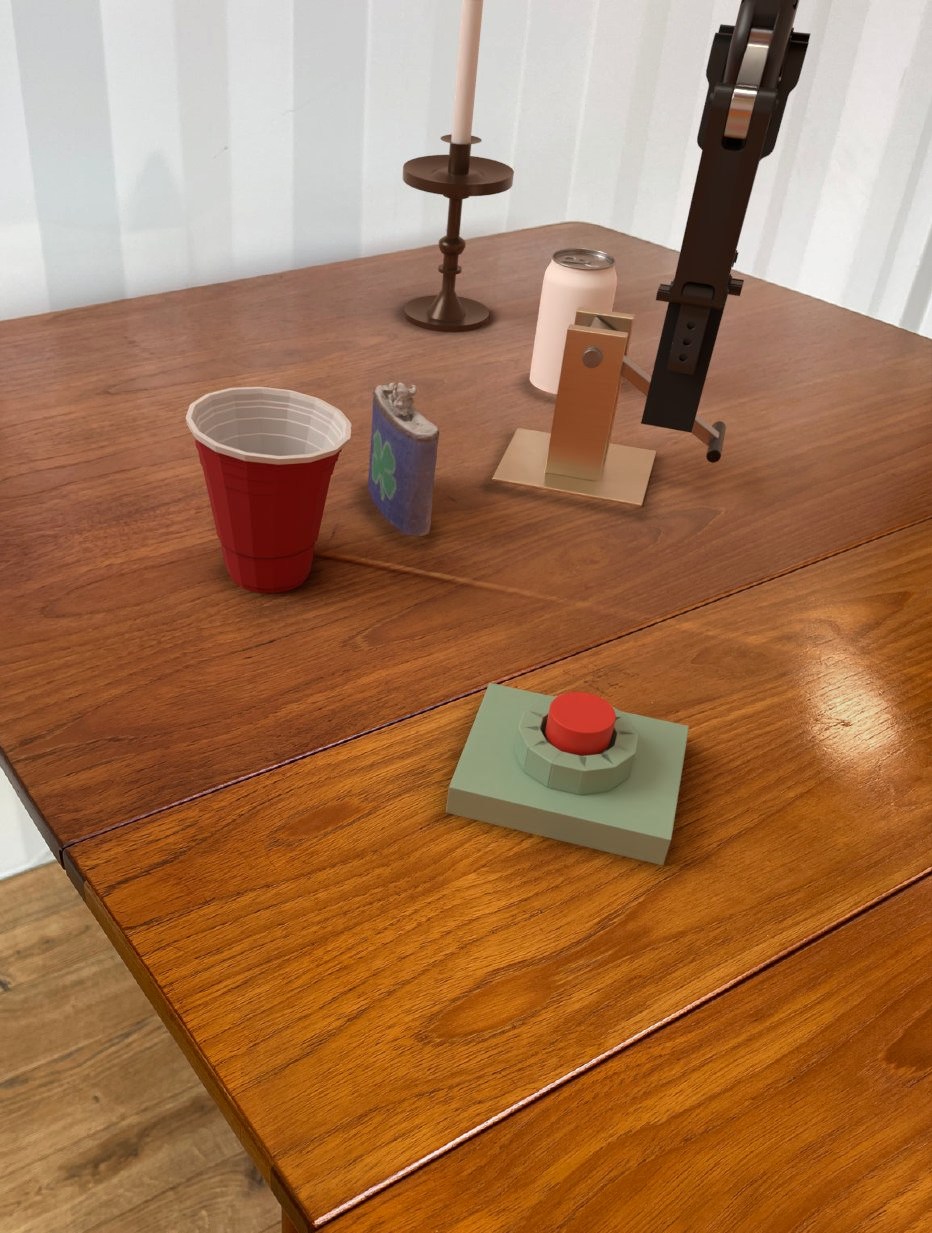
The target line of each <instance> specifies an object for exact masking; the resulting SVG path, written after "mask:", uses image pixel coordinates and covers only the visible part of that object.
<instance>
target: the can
mask: <svg viewBox="0 0 932 1233" xmlns="http://www.w3.org/2000/svg"><path fill="white" fill-rule="evenodd" d="M616 264H617V259H616V258H615V257H614V256H613V255H611V254H610V253H607V252H605V251H601V250H598V249H593V248H584V247H568V248H567V247H566V248H562V249H557V250H555V251H554V252H553V253H552V254H551V261H550V263H549V265H548V266H547V267H546V270H545V272H544V275H543V281H542V287H541V294H540V300H539V308H538V315H537V320H536V321H537V322H536V329H535V336H534V342H533V350H532V357H531V363H530V364H531V365H530V371H529V382H530V383H531V385H533V386H534V387H535V388H537V389H539V390H540V391H543V392H546V393H548V394H554V395H557V392H558V385H559V379H560V373H561V367H562V360H563V354H564V348H565V341H566V335H567V329H568V327H569V325H570V324H572V325H574V323H575V317H576V311H577V309H578V307H584V308H591V309H598V310H605V311H612V312H613V308H614V302H615V297H616V292H617V284H618V277H617V272H616V268H615V266H616Z"/></svg>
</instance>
